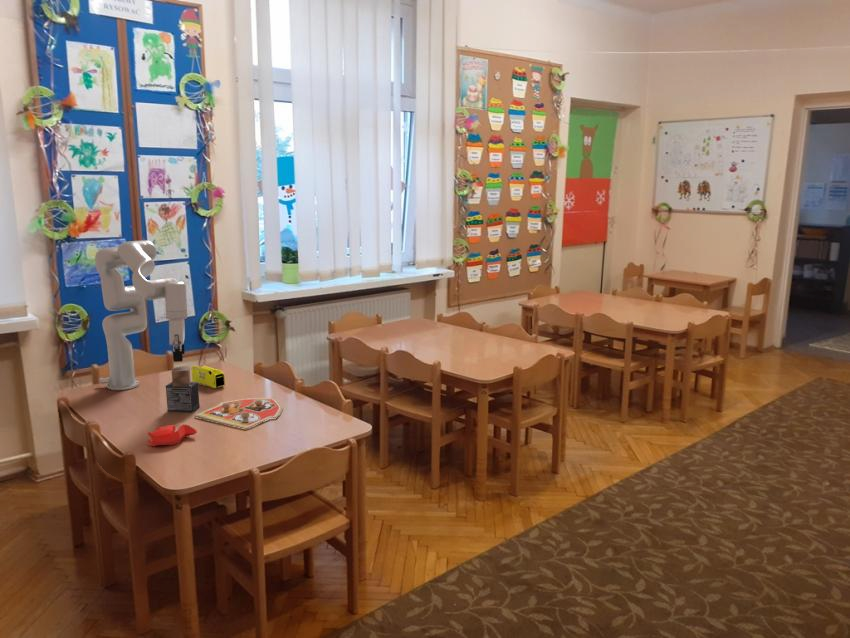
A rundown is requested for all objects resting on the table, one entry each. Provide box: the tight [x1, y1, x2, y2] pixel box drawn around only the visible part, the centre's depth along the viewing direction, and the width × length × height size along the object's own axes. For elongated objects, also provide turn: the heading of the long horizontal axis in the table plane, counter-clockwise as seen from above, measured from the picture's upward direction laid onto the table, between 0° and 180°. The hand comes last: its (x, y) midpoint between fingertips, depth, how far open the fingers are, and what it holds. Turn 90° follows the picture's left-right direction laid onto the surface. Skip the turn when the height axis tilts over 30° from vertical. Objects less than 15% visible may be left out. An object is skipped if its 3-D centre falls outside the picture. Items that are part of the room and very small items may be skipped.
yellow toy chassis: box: [191, 364, 226, 389], centre depth 285 cm, size 16×6×8 cm, turn 55°
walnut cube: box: [171, 365, 191, 387], centre depth 253 cm, size 6×6×6 cm
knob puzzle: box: [194, 397, 284, 429], centre depth 254 cm, size 29×30×4 cm
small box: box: [165, 381, 200, 413], centre depth 255 cm, size 11×6×10 cm, turn 85°
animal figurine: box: [147, 424, 198, 447], centre depth 226 cm, size 12×15×5 cm
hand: (179, 357), depth 252 cm, fingers open, 9 cm apart
